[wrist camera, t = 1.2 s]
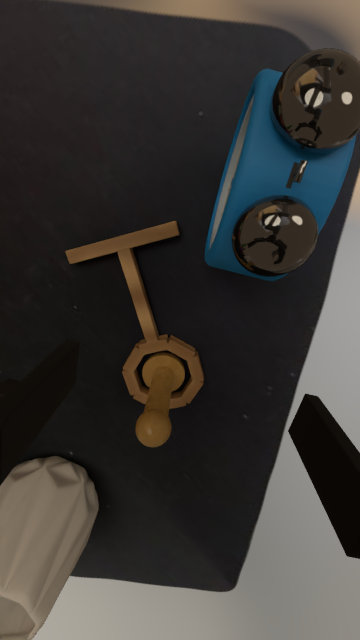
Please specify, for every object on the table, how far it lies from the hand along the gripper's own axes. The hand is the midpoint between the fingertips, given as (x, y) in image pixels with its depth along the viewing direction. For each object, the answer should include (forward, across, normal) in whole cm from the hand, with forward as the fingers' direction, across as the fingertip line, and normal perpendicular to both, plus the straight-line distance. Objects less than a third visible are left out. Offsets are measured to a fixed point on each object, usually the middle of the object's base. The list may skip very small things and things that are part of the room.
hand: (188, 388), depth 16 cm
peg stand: (+17, -1, -9) cm, 19 cm away
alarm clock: (+17, +3, +12) cm, 21 cm away
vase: (+17, -13, -32) cm, 38 cm away
